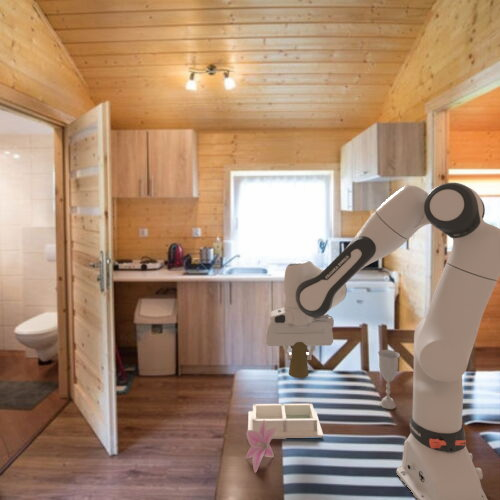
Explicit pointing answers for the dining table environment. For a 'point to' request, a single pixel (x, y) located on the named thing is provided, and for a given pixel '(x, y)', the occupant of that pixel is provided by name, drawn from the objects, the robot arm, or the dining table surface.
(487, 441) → the dining table surface
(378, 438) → the dining table surface
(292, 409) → the cream divided tray
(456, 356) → the robot arm
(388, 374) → the chalice
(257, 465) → the lily
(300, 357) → the cork
